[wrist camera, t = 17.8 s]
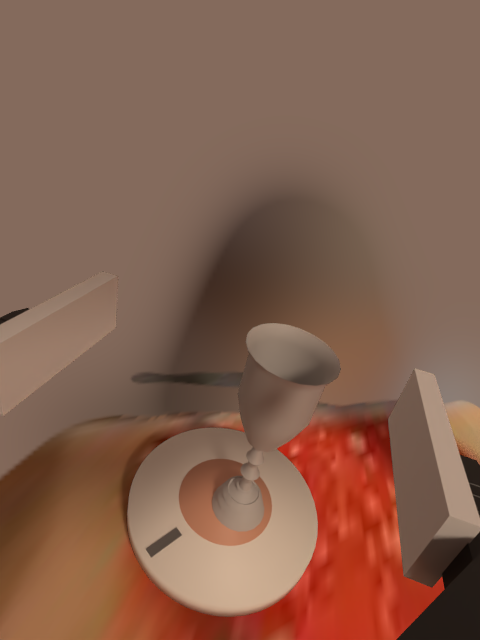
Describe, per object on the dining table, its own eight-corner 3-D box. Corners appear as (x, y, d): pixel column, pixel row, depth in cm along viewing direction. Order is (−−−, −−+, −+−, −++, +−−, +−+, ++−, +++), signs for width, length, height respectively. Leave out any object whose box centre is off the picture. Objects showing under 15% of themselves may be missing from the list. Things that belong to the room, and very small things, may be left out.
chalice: (195, 475, 37) (233, 321, 28) (258, 467, 39) (311, 324, 31) (212, 551, 31) (267, 387, 22) (285, 537, 33) (360, 384, 25)
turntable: (229, 416, 48) (231, 406, 47) (347, 526, 37) (353, 517, 37) (91, 487, 35) (91, 476, 35) (211, 680, 25) (215, 670, 24)
